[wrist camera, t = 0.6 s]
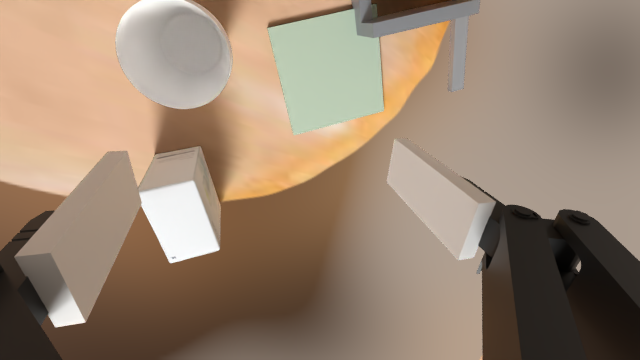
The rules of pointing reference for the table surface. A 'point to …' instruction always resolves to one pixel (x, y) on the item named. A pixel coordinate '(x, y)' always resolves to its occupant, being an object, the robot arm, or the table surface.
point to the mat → (327, 70)
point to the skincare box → (182, 204)
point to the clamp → (456, 10)
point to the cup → (174, 52)
